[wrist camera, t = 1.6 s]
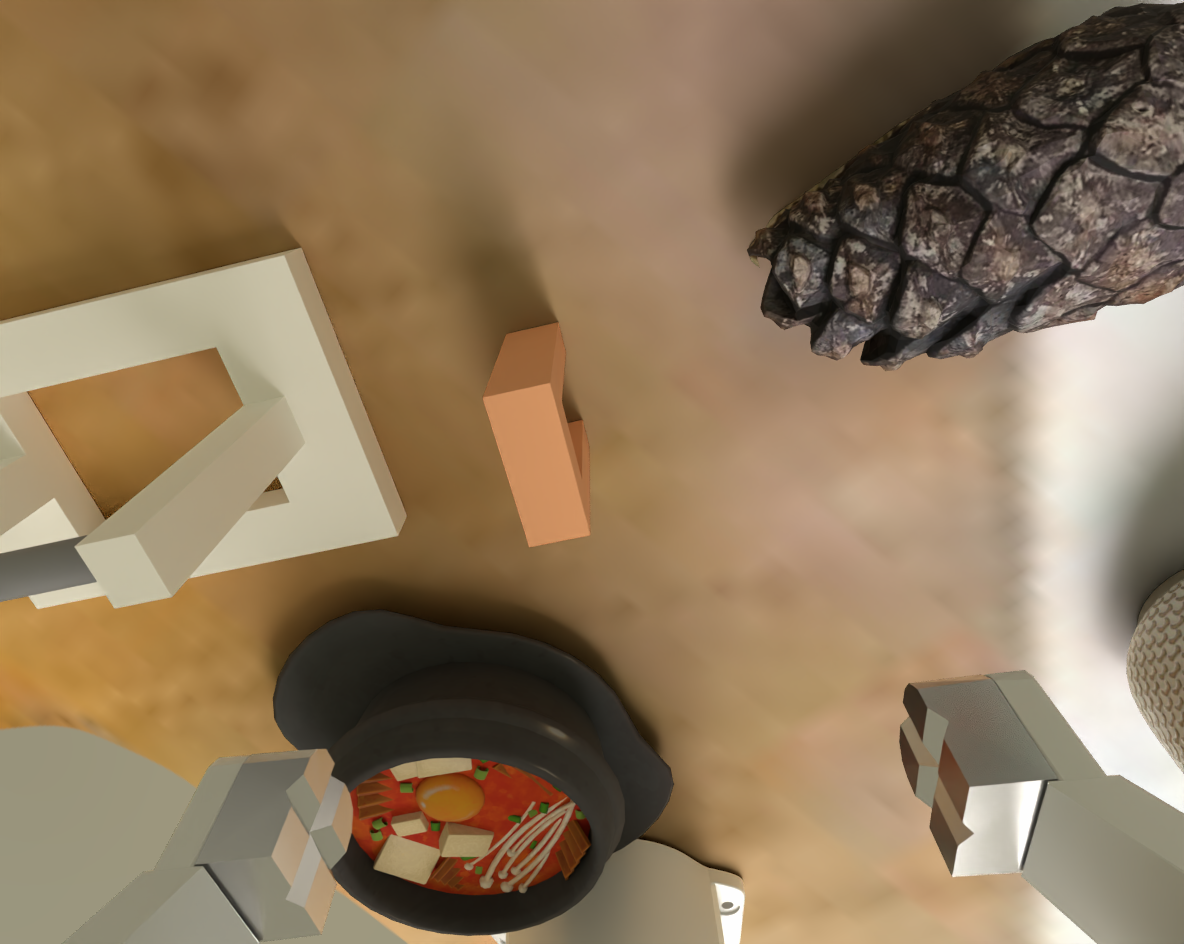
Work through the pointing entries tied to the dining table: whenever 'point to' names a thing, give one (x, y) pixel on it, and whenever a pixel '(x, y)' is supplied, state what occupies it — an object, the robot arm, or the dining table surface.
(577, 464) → the orange block
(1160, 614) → the planter
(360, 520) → the toilet paper holder
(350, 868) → the casserole
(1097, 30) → the pine cone
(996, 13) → the dining table surface
